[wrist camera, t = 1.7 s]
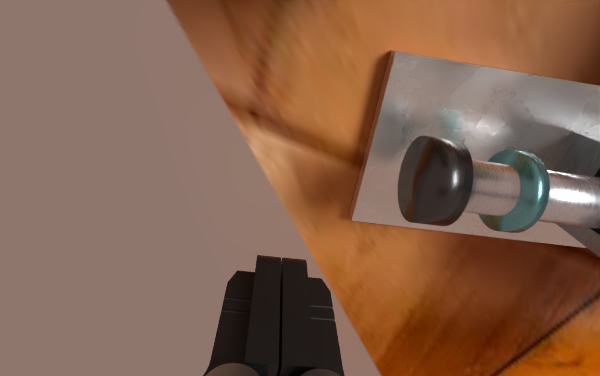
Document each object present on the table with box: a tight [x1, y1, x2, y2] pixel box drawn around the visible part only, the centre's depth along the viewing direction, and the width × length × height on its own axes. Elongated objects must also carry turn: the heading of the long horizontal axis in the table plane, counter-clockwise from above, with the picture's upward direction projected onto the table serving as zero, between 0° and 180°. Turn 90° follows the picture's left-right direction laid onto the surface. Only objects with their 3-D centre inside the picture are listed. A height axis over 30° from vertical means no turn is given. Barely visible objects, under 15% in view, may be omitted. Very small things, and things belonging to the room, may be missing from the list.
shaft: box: [398, 136, 600, 233], centre depth 21 cm, size 18×5×5 cm, turn 81°
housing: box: [349, 50, 600, 257], centre depth 23 cm, size 26×13×10 cm, turn 81°
